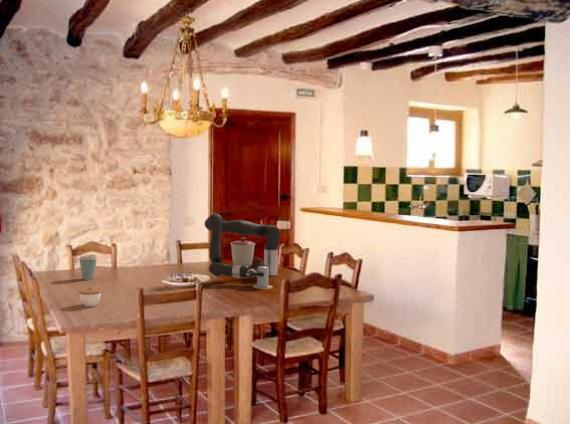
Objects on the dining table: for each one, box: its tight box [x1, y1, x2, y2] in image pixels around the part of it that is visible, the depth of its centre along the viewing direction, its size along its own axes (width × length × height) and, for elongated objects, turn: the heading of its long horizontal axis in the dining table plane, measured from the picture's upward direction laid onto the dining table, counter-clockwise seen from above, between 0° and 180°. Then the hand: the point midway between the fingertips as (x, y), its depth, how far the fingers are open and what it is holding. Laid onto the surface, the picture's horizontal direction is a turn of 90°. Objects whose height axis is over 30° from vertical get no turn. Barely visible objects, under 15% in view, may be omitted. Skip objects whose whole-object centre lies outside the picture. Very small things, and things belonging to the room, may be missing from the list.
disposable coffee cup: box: [79, 254, 98, 281], centre depth 376 cm, size 11×11×15 cm
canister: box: [230, 236, 256, 267], centre depth 435 cm, size 18×18×21 cm
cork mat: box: [252, 284, 273, 290], centre depth 363 cm, size 12×12×1 cm
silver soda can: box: [256, 266, 269, 288], centre depth 363 cm, size 6×6×12 cm
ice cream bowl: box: [249, 256, 267, 281], centre depth 385 cm, size 11×11×15 cm
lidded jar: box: [78, 286, 102, 307], centre depth 310 cm, size 11×11×9 cm
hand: (266, 273), depth 362 cm, fingers open, 8 cm apart
